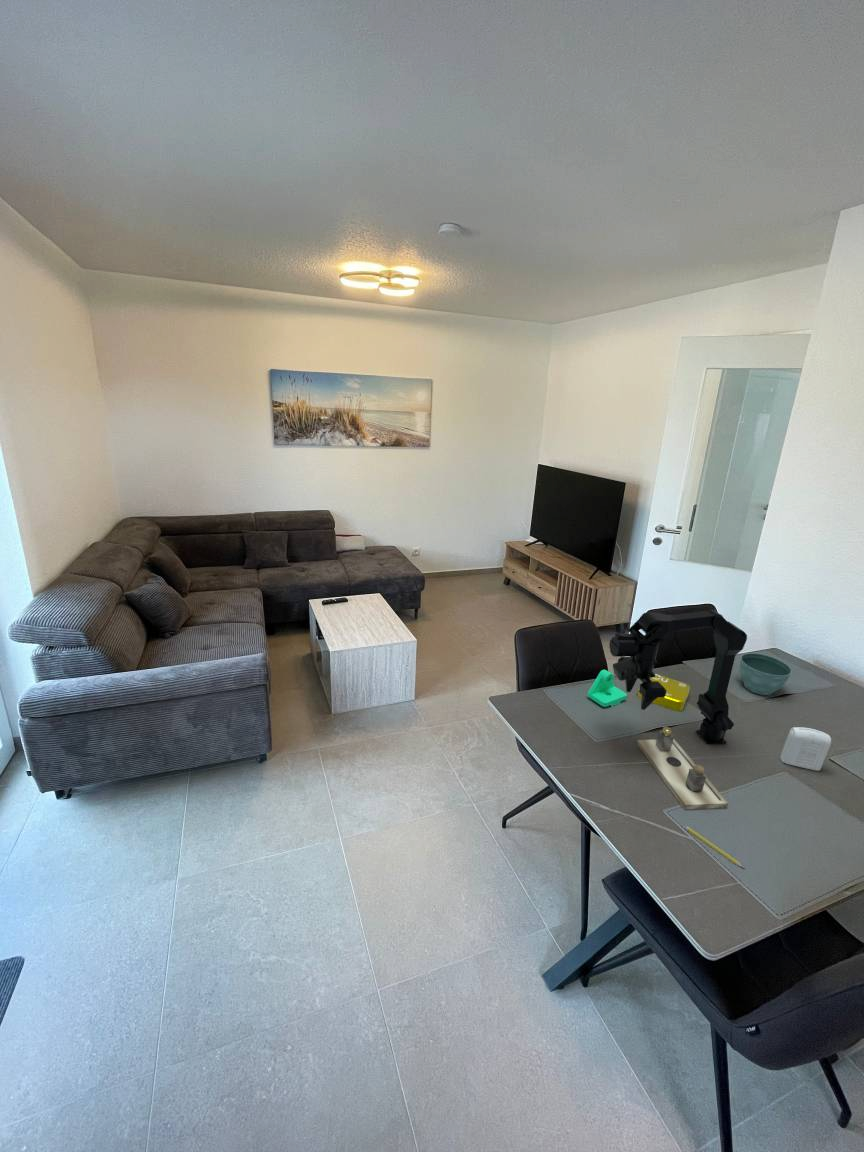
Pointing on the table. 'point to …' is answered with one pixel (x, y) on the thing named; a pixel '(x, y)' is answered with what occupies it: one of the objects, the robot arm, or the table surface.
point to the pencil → (713, 846)
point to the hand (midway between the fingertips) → (635, 700)
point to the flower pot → (763, 673)
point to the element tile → (671, 693)
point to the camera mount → (606, 690)
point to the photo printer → (806, 748)
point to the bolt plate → (682, 776)
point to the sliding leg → (665, 739)
